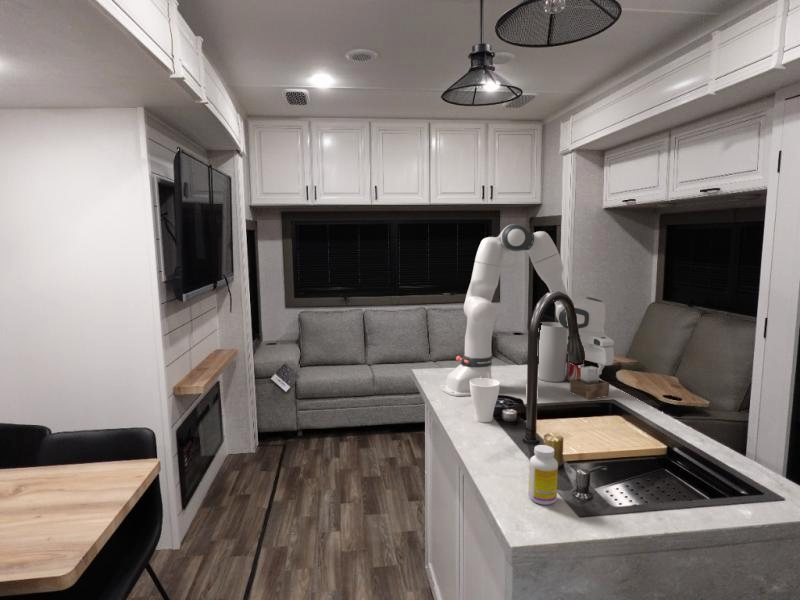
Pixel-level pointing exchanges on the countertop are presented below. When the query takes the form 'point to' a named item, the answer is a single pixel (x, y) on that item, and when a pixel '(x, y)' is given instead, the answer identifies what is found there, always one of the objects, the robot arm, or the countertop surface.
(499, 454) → the countertop surface
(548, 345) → the cylinder vase
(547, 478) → the supplement bottle
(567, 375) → the soda can
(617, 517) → the countertop surface
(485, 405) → the cup
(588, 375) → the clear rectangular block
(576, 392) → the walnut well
